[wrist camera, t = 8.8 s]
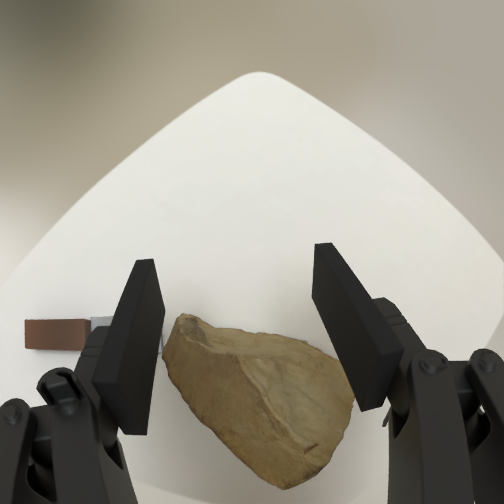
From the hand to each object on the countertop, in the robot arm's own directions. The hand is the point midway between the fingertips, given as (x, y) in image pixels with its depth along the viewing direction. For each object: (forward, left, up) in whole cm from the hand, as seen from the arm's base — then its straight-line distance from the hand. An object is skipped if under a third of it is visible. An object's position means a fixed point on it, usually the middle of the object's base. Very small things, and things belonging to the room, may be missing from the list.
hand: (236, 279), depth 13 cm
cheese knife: (-10, -2, -6) cm, 12 cm away
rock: (+1, -4, -6) cm, 7 cm away
